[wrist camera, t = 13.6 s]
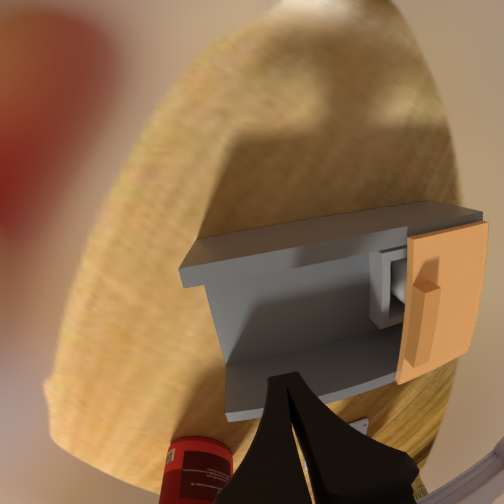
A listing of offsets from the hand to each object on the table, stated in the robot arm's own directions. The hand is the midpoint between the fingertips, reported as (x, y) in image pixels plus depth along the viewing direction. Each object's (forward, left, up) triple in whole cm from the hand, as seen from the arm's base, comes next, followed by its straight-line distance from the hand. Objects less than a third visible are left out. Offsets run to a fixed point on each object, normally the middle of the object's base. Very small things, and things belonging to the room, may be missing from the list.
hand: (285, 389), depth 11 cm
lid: (0, -11, -3) cm, 12 cm away
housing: (0, -6, -10) cm, 11 cm away
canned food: (-19, +10, -10) cm, 24 cm away
